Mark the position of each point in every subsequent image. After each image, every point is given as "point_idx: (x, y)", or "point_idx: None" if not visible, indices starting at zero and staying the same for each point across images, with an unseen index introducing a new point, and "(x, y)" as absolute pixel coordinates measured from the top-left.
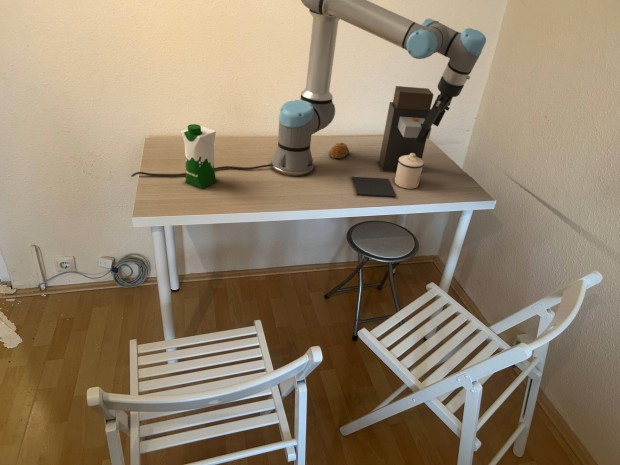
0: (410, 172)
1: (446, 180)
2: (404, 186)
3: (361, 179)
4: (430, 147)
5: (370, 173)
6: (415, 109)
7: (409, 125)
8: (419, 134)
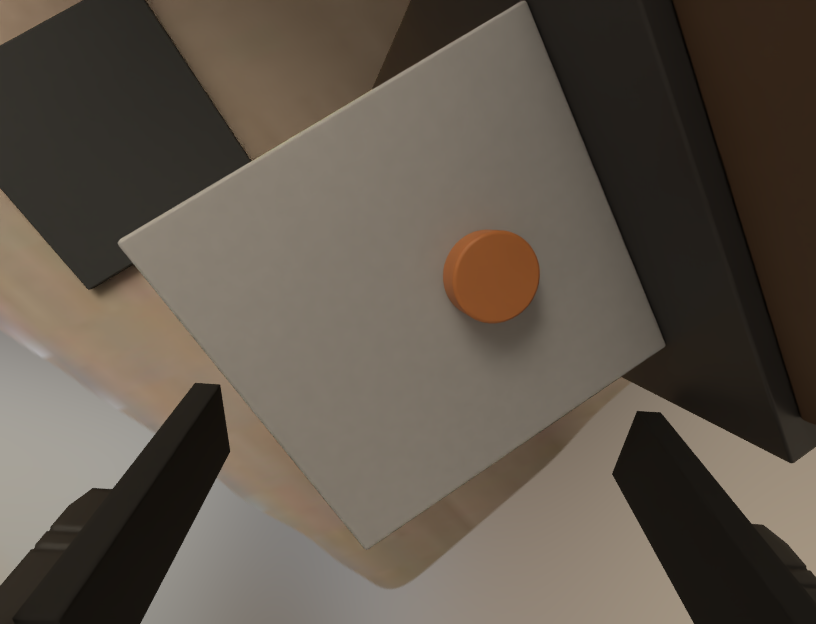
0: None
1: None
2: None
3: (135, 45)
4: None
5: (281, 66)
6: (744, 208)
7: (202, 285)
8: (144, 460)
